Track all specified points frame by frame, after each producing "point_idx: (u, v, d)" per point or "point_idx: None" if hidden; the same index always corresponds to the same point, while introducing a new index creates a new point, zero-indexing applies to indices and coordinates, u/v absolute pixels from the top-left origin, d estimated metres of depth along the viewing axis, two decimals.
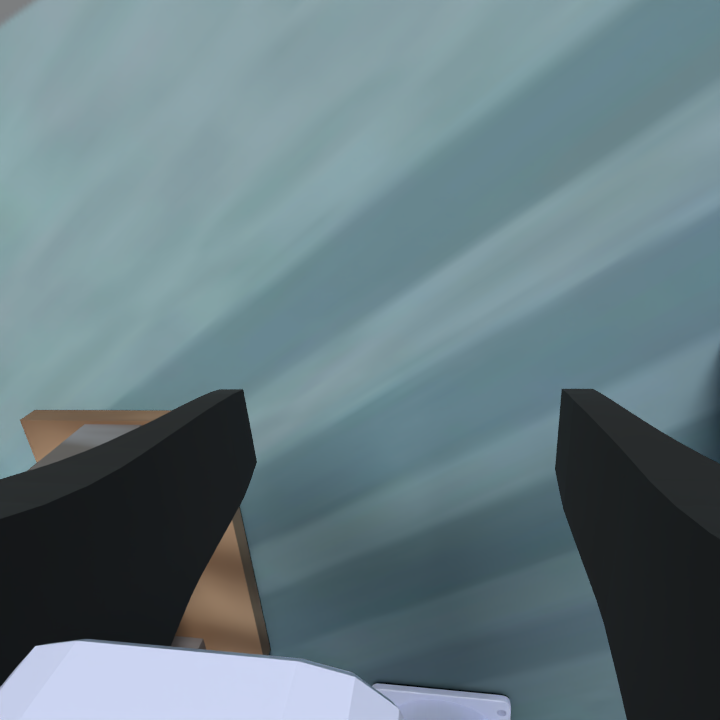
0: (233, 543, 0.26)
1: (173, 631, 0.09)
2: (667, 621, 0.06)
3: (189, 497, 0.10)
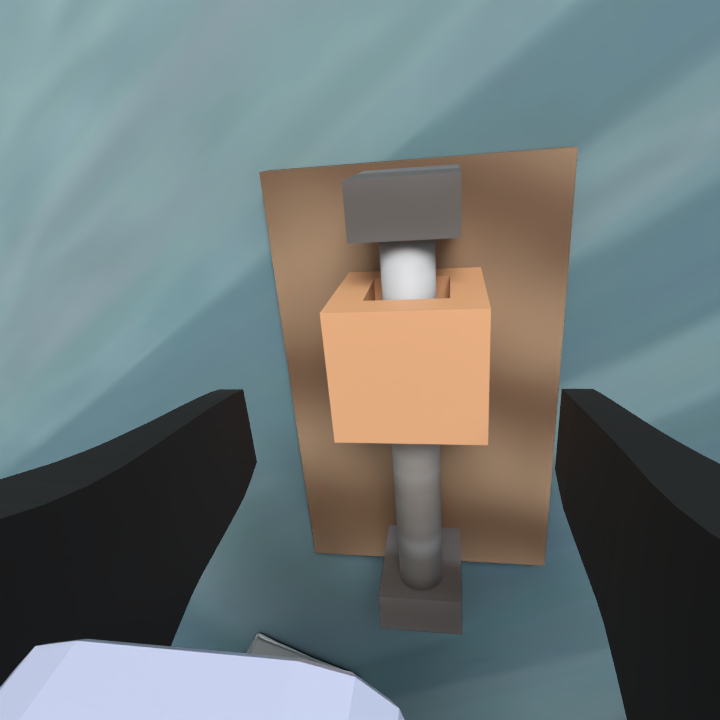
0: (553, 368, 0.18)
1: (173, 631, 0.09)
2: (667, 621, 0.06)
3: (189, 497, 0.10)
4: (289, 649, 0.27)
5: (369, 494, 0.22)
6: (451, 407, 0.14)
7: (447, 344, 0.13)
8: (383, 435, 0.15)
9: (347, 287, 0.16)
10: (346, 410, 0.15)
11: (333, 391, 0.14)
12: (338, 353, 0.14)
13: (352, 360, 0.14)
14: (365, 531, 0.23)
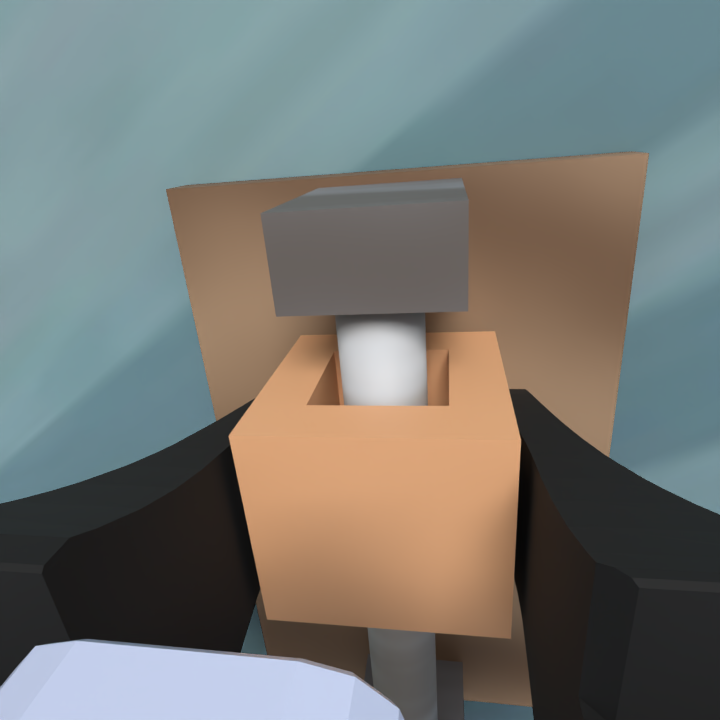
0: None
1: (242, 637, 0.09)
2: (549, 612, 0.06)
3: None
4: None
5: None
6: (451, 583, 0.09)
7: (444, 492, 0.08)
8: (342, 615, 0.09)
9: (290, 369, 0.10)
10: (282, 577, 0.09)
11: (260, 550, 0.09)
12: (264, 496, 0.08)
13: (287, 508, 0.08)
14: (337, 659, 0.17)
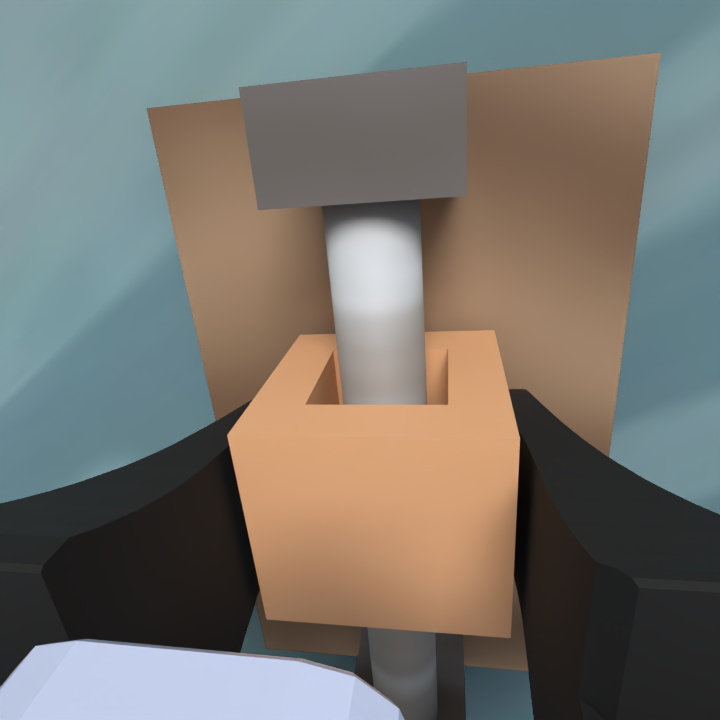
0: (604, 410, 0.12)
1: (242, 637, 0.09)
2: (549, 613, 0.06)
3: None
4: None
5: None
6: (450, 582, 0.09)
7: (443, 490, 0.08)
8: (342, 614, 0.09)
9: (289, 369, 0.10)
10: (281, 577, 0.09)
11: (258, 550, 0.09)
12: (262, 496, 0.08)
13: (286, 507, 0.08)
14: (332, 624, 0.16)
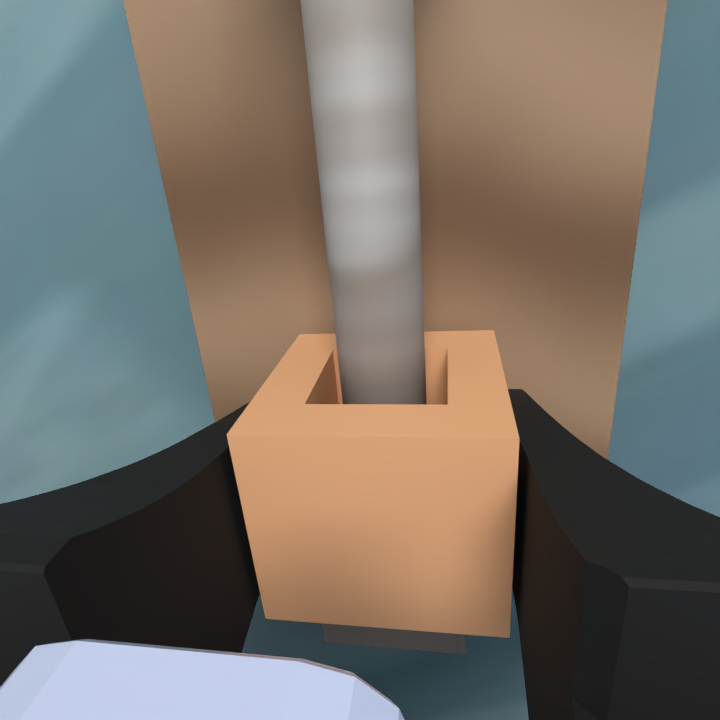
0: (633, 167, 0.10)
1: (242, 637, 0.09)
2: (543, 612, 0.06)
3: None
4: None
5: None
6: (449, 582, 0.09)
7: (442, 490, 0.08)
8: (341, 614, 0.09)
9: (289, 368, 0.10)
10: (280, 576, 0.09)
11: (257, 549, 0.09)
12: (262, 495, 0.08)
13: (285, 507, 0.08)
14: None
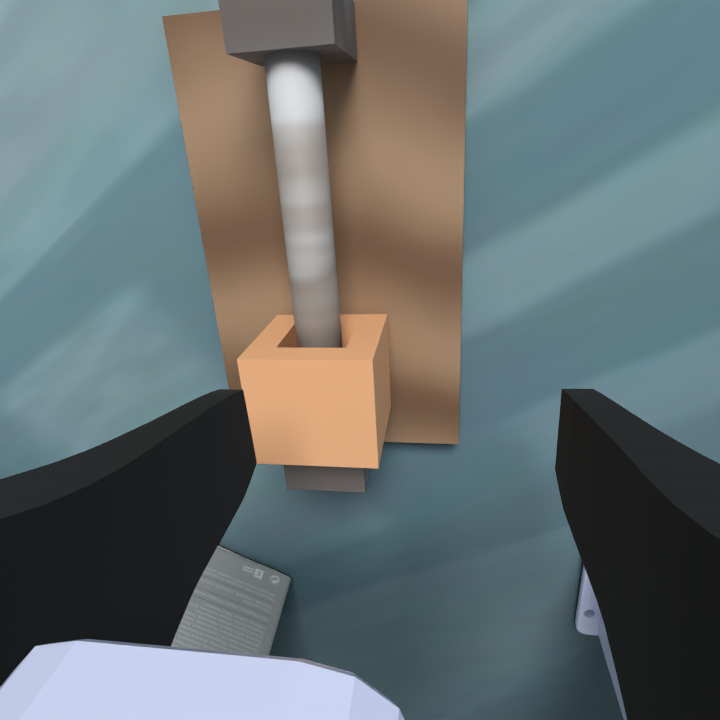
0: (456, 227, 0.18)
1: (173, 631, 0.09)
2: (667, 621, 0.06)
3: (189, 497, 0.10)
4: (220, 548, 0.28)
5: None
6: (347, 437, 0.17)
7: (340, 387, 0.16)
8: (293, 458, 0.18)
9: (269, 332, 0.19)
10: (262, 437, 0.18)
11: (251, 422, 0.17)
12: (253, 391, 0.17)
13: (265, 397, 0.17)
14: None
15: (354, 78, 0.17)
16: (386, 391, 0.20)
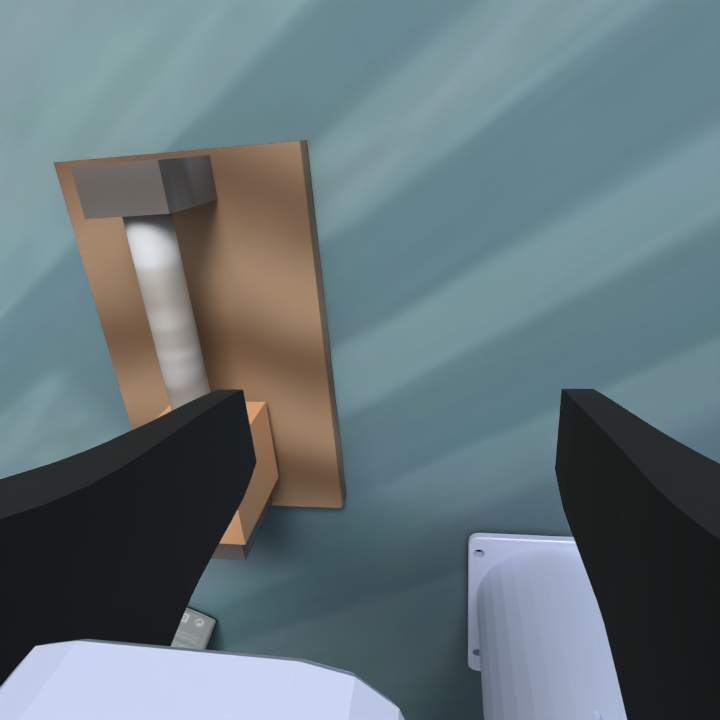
0: (316, 330, 0.21)
1: (173, 631, 0.09)
2: (667, 621, 0.06)
3: (189, 497, 0.10)
4: None
5: None
6: None
7: None
8: None
9: None
10: None
11: None
12: None
13: None
14: None
15: (216, 212, 0.20)
16: (265, 469, 0.22)
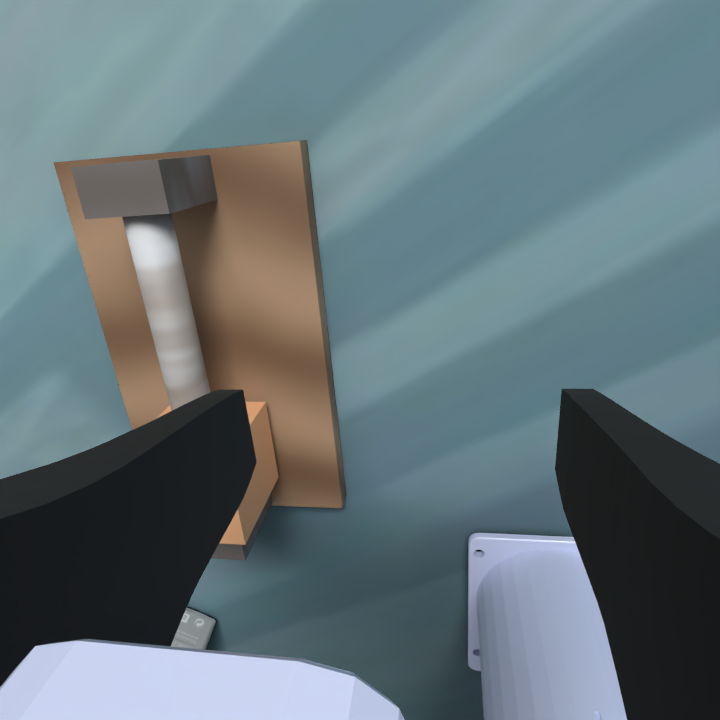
0: (316, 330, 0.21)
1: (173, 631, 0.09)
2: (667, 621, 0.06)
3: (189, 497, 0.10)
4: None
5: None
6: None
7: None
8: None
9: None
10: None
11: None
12: None
13: None
14: None
15: (216, 212, 0.20)
16: (265, 469, 0.22)
